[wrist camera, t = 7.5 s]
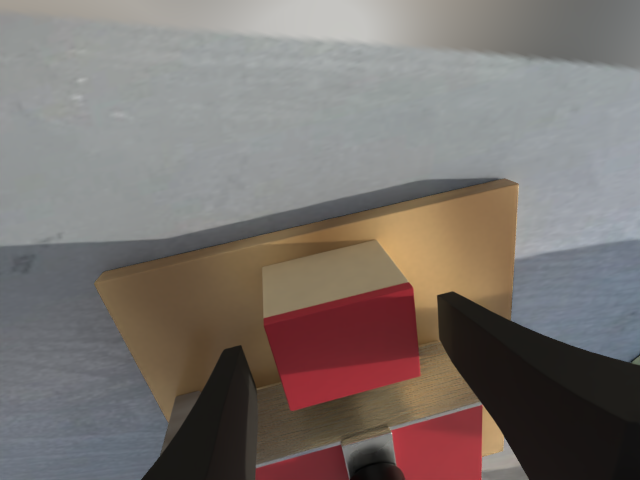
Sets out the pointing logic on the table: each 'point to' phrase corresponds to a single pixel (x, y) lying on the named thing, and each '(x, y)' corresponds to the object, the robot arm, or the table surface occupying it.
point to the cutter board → (256, 252)
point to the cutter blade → (362, 418)
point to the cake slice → (339, 323)
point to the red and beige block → (402, 452)
